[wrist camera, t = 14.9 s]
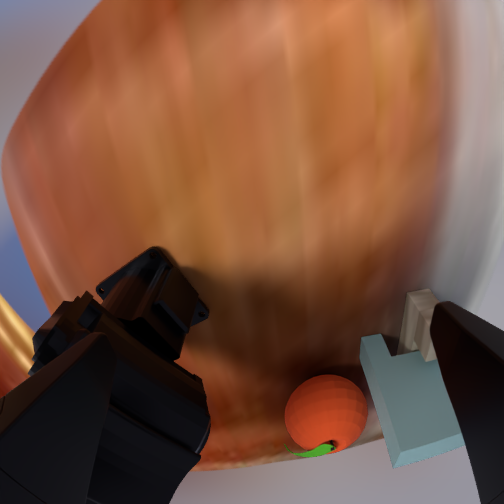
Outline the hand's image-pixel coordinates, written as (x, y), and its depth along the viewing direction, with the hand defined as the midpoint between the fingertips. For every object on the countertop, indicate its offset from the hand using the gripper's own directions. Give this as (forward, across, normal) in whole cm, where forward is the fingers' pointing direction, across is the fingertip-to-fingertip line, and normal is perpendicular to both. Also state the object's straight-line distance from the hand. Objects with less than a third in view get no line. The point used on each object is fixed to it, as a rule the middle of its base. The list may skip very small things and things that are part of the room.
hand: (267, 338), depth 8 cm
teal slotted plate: (+13, -10, +14) cm, 22 cm away
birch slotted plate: (+13, -11, +14) cm, 22 cm away
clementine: (+13, -2, +18) cm, 22 cm away
